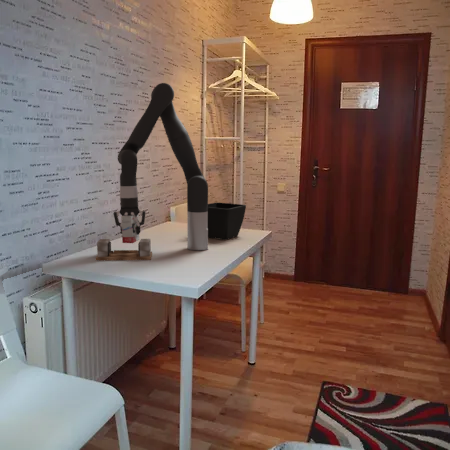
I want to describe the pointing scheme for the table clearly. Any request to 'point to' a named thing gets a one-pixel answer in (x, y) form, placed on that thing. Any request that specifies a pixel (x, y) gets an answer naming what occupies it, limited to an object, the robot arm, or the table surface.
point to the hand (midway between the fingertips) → (130, 234)
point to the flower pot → (225, 220)
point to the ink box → (129, 229)
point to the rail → (123, 251)
